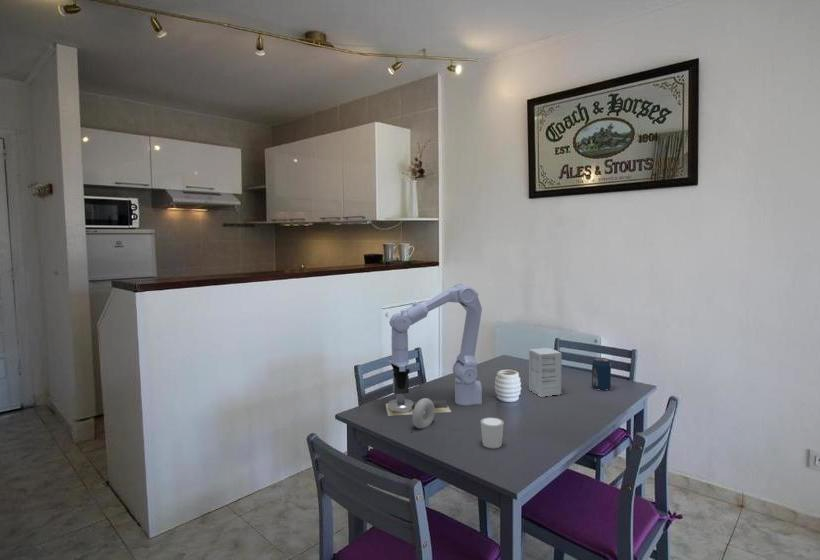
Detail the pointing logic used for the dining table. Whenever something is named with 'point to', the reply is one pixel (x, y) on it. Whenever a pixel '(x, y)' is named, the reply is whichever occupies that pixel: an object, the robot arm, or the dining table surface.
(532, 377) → the supplement box
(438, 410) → the board
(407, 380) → the charcoal matte cube
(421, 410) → the donut
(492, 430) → the shot glass
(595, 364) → the soda can
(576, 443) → the dining table surface
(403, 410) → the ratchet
